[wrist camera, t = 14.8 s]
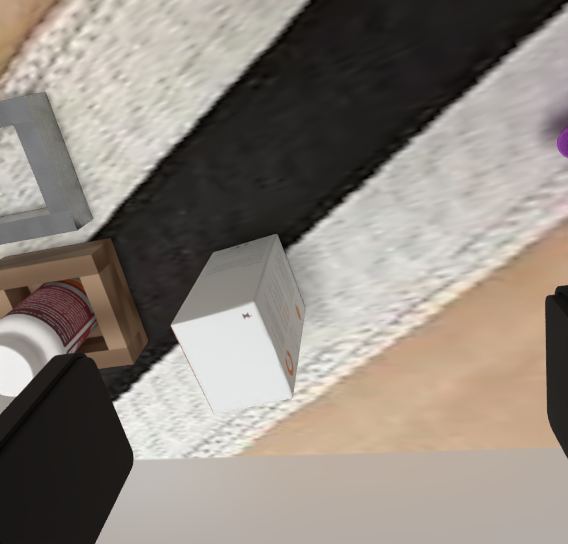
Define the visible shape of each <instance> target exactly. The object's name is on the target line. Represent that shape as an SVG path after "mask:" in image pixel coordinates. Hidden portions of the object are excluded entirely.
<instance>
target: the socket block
mask: <svg viewBox="0 0 568 544" xmlns="http://www.w3.org/2000/svg"><path fill="white" fill-rule="evenodd" d="M13 124H14V127H15V129H16V132H17V134H18V137H19V139H20V141H21V144H22V146H23V149H24V151H25V154H26V156H27V159H28V161H29V164H30V166H31V168H32V171H33V173H34V176H35V178H36V181H37V183H38V186H39V188H40V191H41V193H42V196H43V198H44V200H45V203H46V205H47V208H42V209H37V210H32V211H27V212H22V213H17V214H12V215H7V216H2V217H0V245H1V244H6V243H12V242H17V241H23V240H28V239H33V238H39V237H44V236H50V235H55V234H60V233H66V232H71V231H77V230H78V229H80V228H81V227H83V226H84V225H85V224H87V223H88V222H90V221H91V220H92V219H93V218H92V216H91V213H90V210H89V208H88V205H87V202H86V200H85V197H84V194H83V192H82V189H81V186H80V184H79V181H78V178H77V176H76V173H75V170H74V168H73V165H72V162H71V160H70V157H69V154H68V152H67V149H66V146H65V144H64V141H63V138H62V136H61V133H60V130H59V128H58V125H57V122H56V120H55V117H54V114H53V112H52V109H51V106H50V104H49V101H48V98H47V96H46V93H45V92H44V93H38V94H32V95H26V96H22V97H18V98H13V99H9V100H5V101H1V102H0V128H1V127H5V126H9V125H13Z"/></svg>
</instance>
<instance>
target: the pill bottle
mask: <svg viewBox="0 0 568 544" xmlns="http://www.w3.org/2000/svg"><path fill="white" fill-rule="evenodd" d="M97 325H98V322H97V319H96V317H95V314H94V312H93V309H92V307H91V304H90V302H89V299H88V297H87V294H86V292H85V289H84V287H83V285H82V282H81V280H80V279H77V278H72V279H66V280H60V281H54V282H48V283H44V284H42V285H41V286H40V287H39V288H38V289H36V290H35V291H34V292H33V293H32V294H31V295H29V296H28V297H27V298H26V299H24V300H23V301H22V302H21V303H19V304H18V305H17V306H16V307H15V308H14V309H12V310H11V311H10V312H9V313H7V314H6V315H5V316H4V317H3V318H1V319H0V394H2V395H6V396H18V395H19V394H20V392H21V391H22V390H23V389H24V388H25V387H26V386H27V385H28V384H29V383H30V381H31V380H32V379H33V378H34V377H35V376H36V375H37V374H38V373H39V372H40V370H41V369H42V368H43V367H44V366H45V365H46V364H47V363H48V362H49V361H50V359H51V358H53V357H54V356H55V355H61V354H68V353H74V352H75V351H76V350H77V349H78V348H79V347H80V345H81V344H82V343H83V342H84V341H85V340H86V338H87V337H88V336H89V335H90V334H91V332H92V331H93V330H94V329H95V328H96V326H97Z"/></svg>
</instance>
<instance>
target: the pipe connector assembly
mask: <svg viewBox="0 0 568 544" xmlns="http://www.w3.org/2000/svg"><path fill="white" fill-rule="evenodd" d="M557 146H558V150H559V151H560V153H561V154H562V155H564V156H565V157H567V158H568V126H567V127H566V128H565V129H564V130H563V131H562V132H561V134H560V135H559V137H558V140H557Z"/></svg>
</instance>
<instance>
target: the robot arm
mask: <svg viewBox="0 0 568 544" xmlns="http://www.w3.org/2000/svg"><path fill="white" fill-rule="evenodd" d="M545 318H546V376H547V414H548V419H549V423H550V426H551V428H552V430H553V432H554V434H555V436H556V438H557V440H558V442H559V443H560V445H561V447H562V449H563V451H564V453H565V455H566V456H567V458H568V285H565V286H558V287H557V288H556V291H555V295H548V296H547V297H546V300H545ZM132 466H133V451H132V448H131V446H130V444H129V441H128V439H127V437H126V434H125V432H124V429H123V427H122V425H121V422H120V420H119V417H118V415H117V413H116V410H115V408H114V406H113V403H112V401H111V398H110V396H109V394H108V391H107V389H106V386H105V384H104V382H103V379H102V377H101V375H100V372H99V370H98V367H97V365H96V363H95V361H94V360H93V359H92V358H90V357H87V356H86V355H85V354H84V353H82V352H76V353H68V354H61V355H55V356H54V357H53V358H51V359H50V361H49V362H48V363H47V364H46V365H45V366H44V367H43V368H42V369H41V370H40V372H39V373H38V374H37V375H36V376H35V377H34V378H33V379H32V380H31V381H30V383H29V384H28V385H27V386H26V387H25V388H24V389H23V390H22V391H21V392H20V394H19V395H18V396H17V397H16V398H15V399H14V400H13V401H12V402H11V403H10V405H9V406H8V407H7V408H6V409H5V410H4V411H3V412H2V413H1V414H0V544H95V543H96V540H97V538H98V536H99V534H100V532H101V530H102V528H103V526H104V524H105V522H106V520H107V518H108V516H109V514H110V512H111V510H112V508H113V506H114V504H115V502H116V500H117V497H118V495H119V493H120V491H121V489H122V487H123V485H124V483H125V481H126V479H127V477H128V475H129V473H130V471H131V469H132Z"/></svg>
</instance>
